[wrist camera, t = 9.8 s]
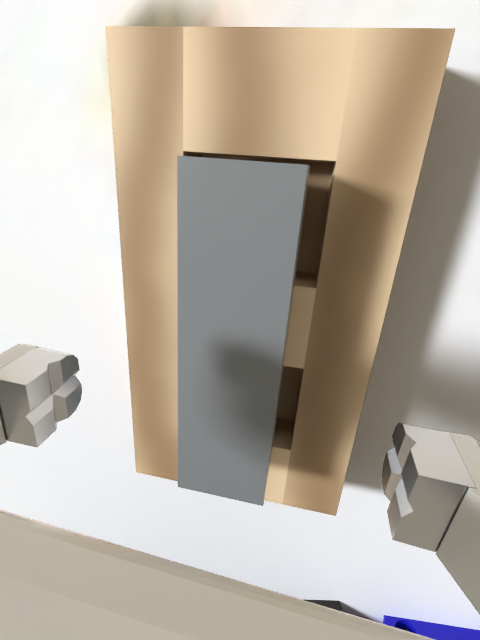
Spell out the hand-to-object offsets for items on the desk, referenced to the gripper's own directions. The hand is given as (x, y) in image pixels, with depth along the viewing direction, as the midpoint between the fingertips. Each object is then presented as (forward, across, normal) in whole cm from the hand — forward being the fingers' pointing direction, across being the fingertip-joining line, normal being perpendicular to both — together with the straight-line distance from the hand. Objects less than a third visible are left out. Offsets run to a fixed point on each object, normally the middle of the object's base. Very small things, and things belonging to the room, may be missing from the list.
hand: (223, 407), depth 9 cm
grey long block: (+10, +1, +1) cm, 10 cm away
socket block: (+11, +1, +1) cm, 11 cm away
